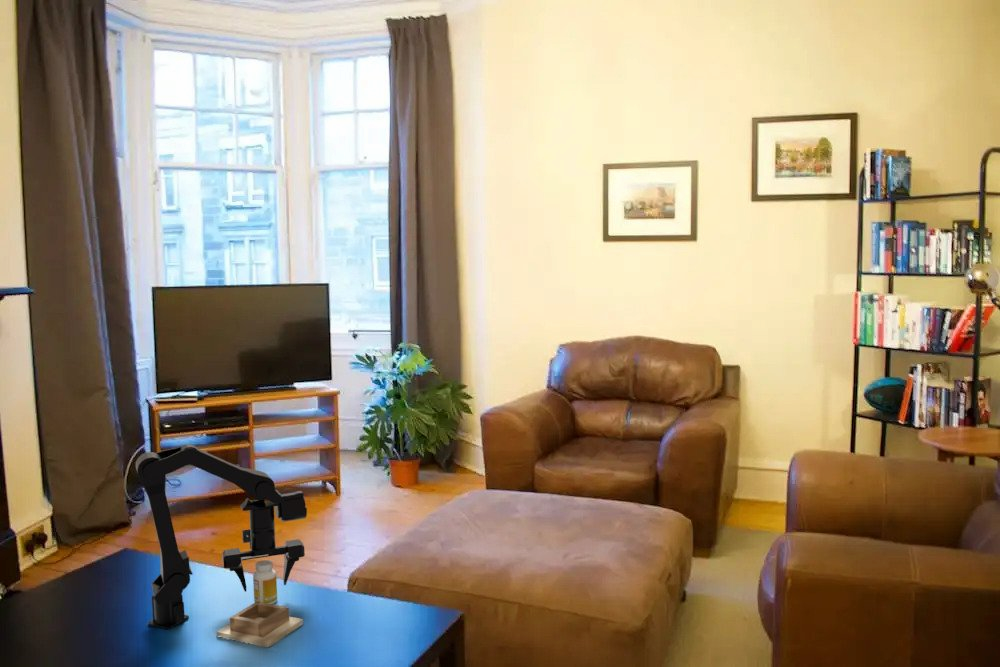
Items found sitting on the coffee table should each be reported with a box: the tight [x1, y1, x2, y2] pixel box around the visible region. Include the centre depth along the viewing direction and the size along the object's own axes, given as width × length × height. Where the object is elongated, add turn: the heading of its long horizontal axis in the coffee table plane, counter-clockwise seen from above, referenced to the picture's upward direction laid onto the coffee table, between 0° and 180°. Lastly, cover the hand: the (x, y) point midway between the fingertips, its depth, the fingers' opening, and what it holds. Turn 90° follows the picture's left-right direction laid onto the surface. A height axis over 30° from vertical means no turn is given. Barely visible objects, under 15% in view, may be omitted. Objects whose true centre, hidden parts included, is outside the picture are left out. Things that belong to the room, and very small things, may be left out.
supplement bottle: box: [252, 559, 278, 605], centre depth 195 cm, size 5×5×10 cm
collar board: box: [216, 602, 304, 648], centre depth 180 cm, size 14×12×4 cm
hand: (265, 587), depth 195 cm, fingers open, 9 cm apart
